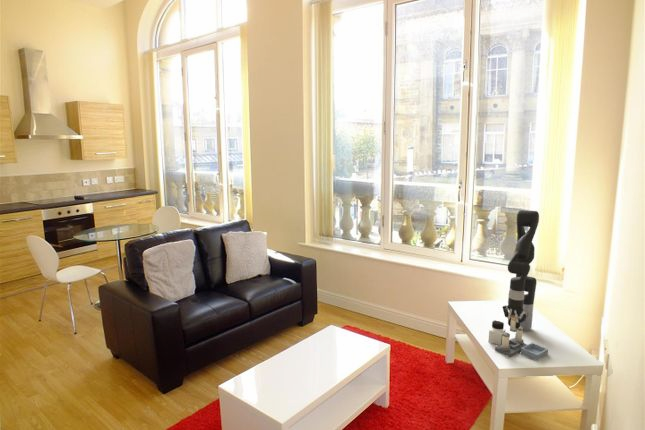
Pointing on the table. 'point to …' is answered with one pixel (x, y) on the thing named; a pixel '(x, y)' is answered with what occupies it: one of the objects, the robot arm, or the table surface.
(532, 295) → the robot arm
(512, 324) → the marked fuse
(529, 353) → the tray
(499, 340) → the medicine bottle
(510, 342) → the fuse holder
